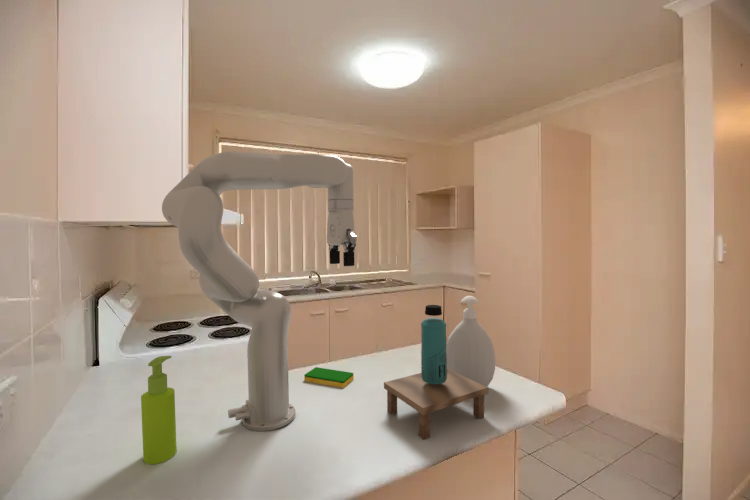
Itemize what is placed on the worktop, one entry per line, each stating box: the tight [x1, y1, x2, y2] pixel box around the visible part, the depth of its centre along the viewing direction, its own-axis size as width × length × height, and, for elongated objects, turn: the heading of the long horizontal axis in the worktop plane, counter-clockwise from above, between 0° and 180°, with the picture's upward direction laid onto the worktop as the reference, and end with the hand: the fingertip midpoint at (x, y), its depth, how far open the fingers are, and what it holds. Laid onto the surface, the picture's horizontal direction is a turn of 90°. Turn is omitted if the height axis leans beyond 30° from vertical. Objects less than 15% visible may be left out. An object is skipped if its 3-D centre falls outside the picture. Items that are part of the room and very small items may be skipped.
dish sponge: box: [303, 366, 355, 389], centre depth 113 cm, size 7×14×2 cm, turn 68°
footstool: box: [383, 369, 489, 440], centre depth 90 cm, size 20×16×8 cm
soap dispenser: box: [140, 355, 177, 465], centre depth 75 cm, size 6×7×20 cm
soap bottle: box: [446, 295, 496, 387], centre depth 107 cm, size 14×8×27 cm, turn 77°
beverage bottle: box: [420, 304, 448, 384], centre depth 90 cm, size 6×7×20 cm
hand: (341, 264), depth 107 cm, fingers open, 9 cm apart
